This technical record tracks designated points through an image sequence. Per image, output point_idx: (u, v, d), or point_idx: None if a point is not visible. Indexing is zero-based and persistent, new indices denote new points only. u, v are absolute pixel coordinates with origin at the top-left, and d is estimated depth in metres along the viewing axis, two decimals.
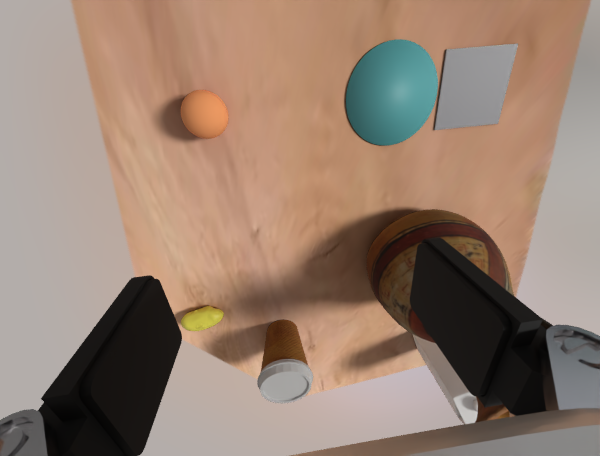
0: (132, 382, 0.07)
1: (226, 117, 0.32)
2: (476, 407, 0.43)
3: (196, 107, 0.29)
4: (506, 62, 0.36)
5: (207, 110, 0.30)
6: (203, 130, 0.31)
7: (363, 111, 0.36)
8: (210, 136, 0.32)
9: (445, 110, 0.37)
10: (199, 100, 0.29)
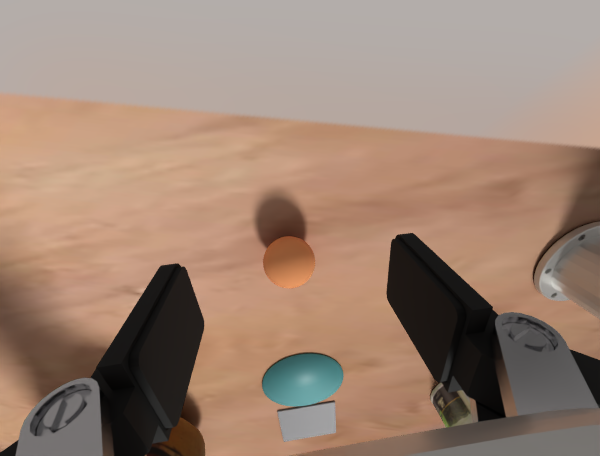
0: (168, 359, 0.07)
1: None
2: None
3: (300, 273, 0.25)
4: (325, 431, 0.49)
5: (297, 282, 0.26)
6: (275, 276, 0.26)
7: (291, 367, 0.39)
8: (267, 274, 0.27)
9: (293, 413, 0.45)
10: (307, 273, 0.26)
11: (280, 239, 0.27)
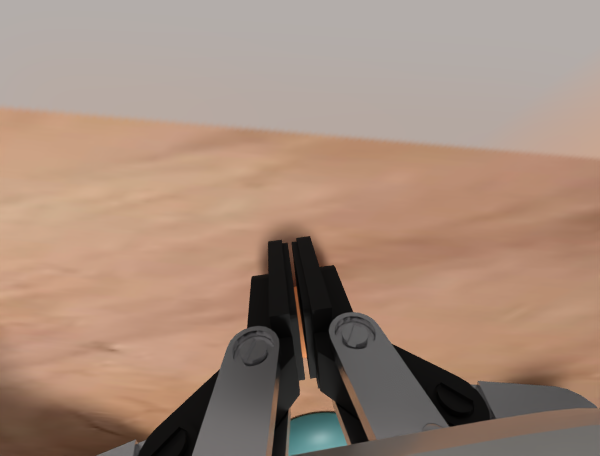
0: None
1: None
2: None
3: None
4: None
5: None
6: None
7: (303, 428, 0.33)
8: None
9: None
10: None
11: (294, 291, 0.20)
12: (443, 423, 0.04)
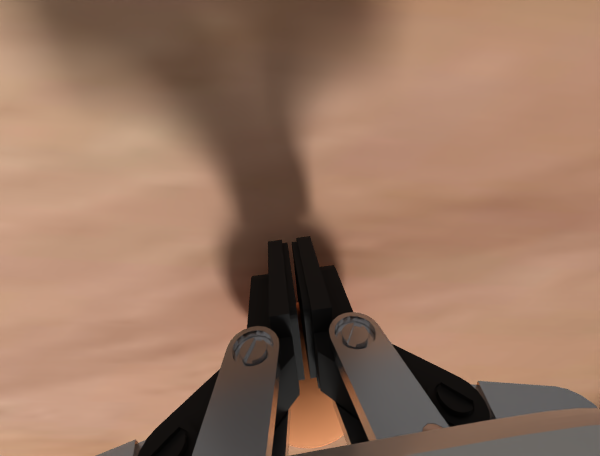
0: None
1: None
2: None
3: (341, 430, 0.09)
4: None
5: None
6: None
7: None
8: None
9: None
10: None
11: None
12: (443, 423, 0.04)
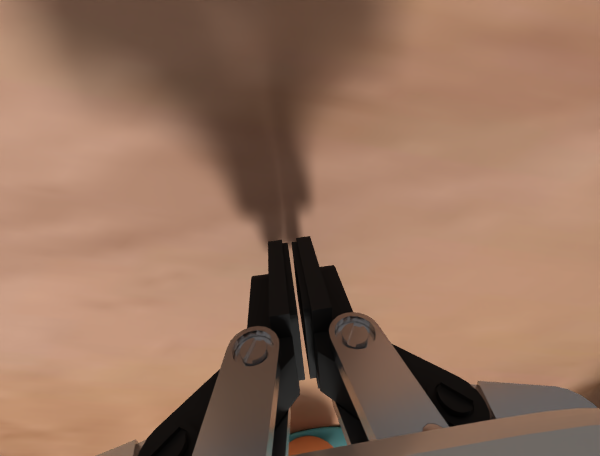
0: None
1: None
2: None
3: None
4: None
5: None
6: None
7: None
8: None
9: None
10: None
11: None
12: (443, 423, 0.04)
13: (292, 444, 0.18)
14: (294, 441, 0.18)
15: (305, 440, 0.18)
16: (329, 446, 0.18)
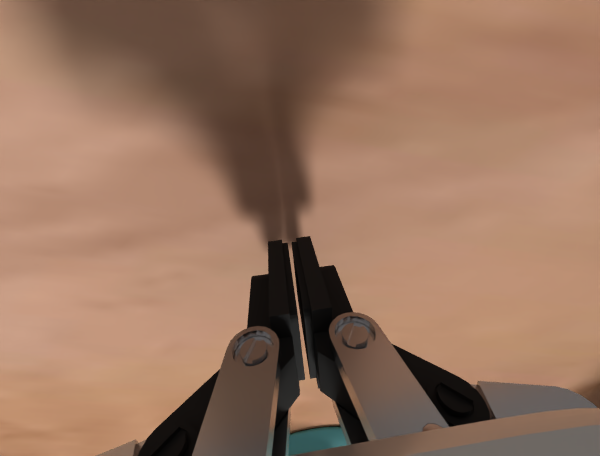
0: None
1: None
2: None
3: None
4: None
5: None
6: None
7: (294, 452, 0.20)
8: None
9: None
10: None
11: None
12: (443, 423, 0.04)
13: None
14: None
15: None
16: None
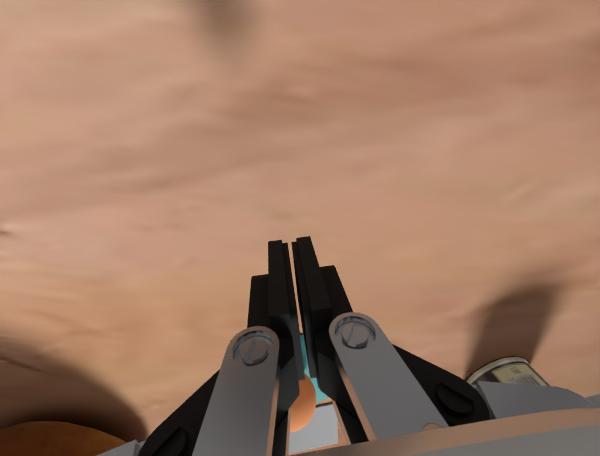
0: None
1: None
2: None
3: None
4: (324, 442, 0.37)
5: None
6: None
7: None
8: None
9: None
10: None
11: None
12: (443, 423, 0.04)
13: None
14: None
15: (291, 410, 0.24)
16: (308, 405, 0.25)
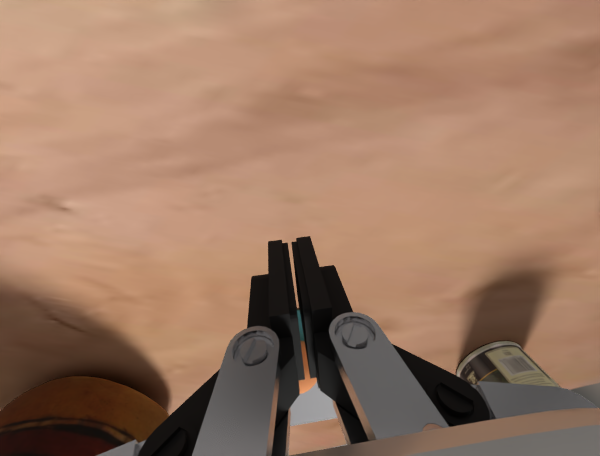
0: None
1: None
2: None
3: None
4: (327, 416, 0.40)
5: None
6: None
7: None
8: None
9: None
10: None
11: None
12: (443, 423, 0.04)
13: None
14: None
15: None
16: None
